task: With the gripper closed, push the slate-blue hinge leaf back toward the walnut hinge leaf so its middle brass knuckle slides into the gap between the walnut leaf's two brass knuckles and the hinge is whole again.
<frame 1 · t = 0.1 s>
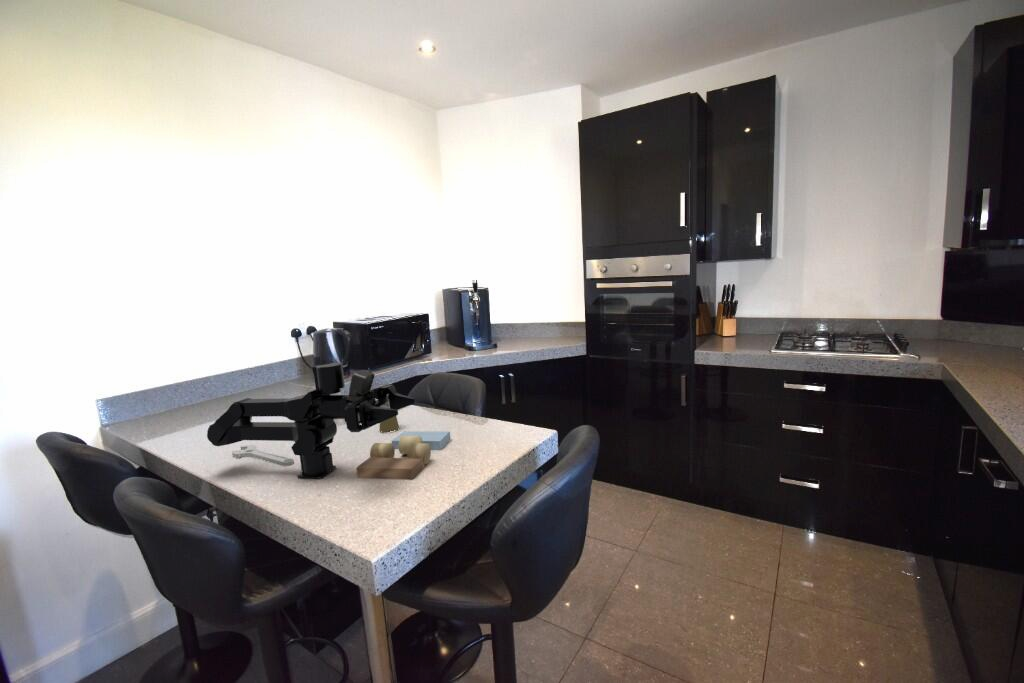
hand: (406, 406, 104), 17 cm above the countertop, tool horizontal, fingers open, 9 cm apart
cork: (389, 430, 142), on the countertop
adjustable wrench: (261, 460, 125), on the countertop
slate leaf: (411, 453, 120), on the countertop
walnut leaf: (401, 462, 115), on the countertop
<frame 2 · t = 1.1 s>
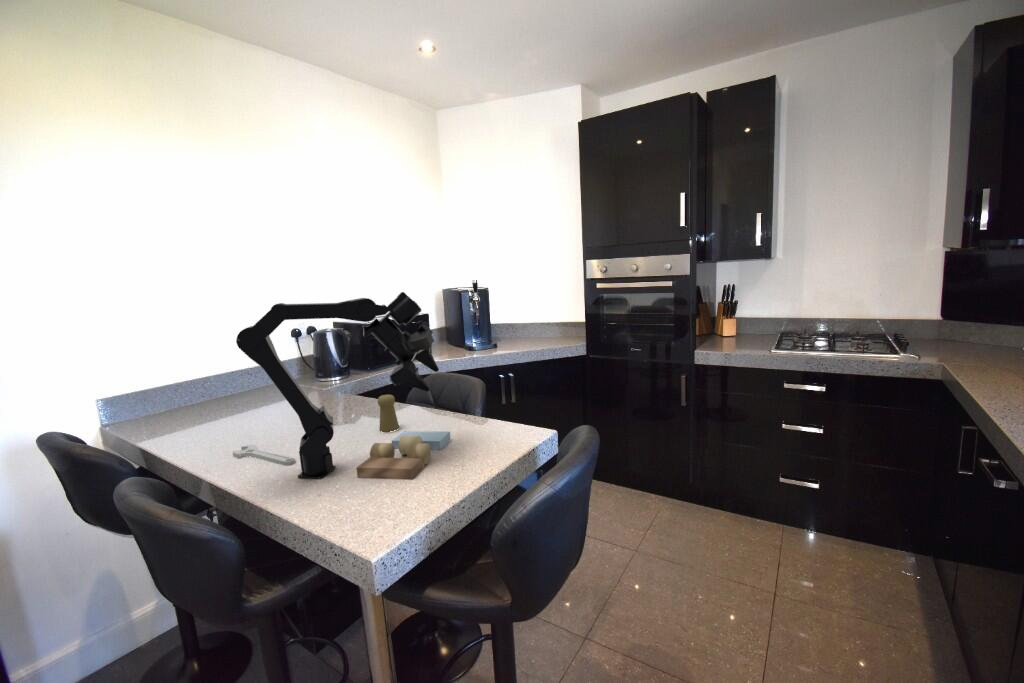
hand: (433, 380, 120), 19 cm above the countertop, tool tilted 35°, fingers open, 9 cm apart
nothing on the countertop moved.
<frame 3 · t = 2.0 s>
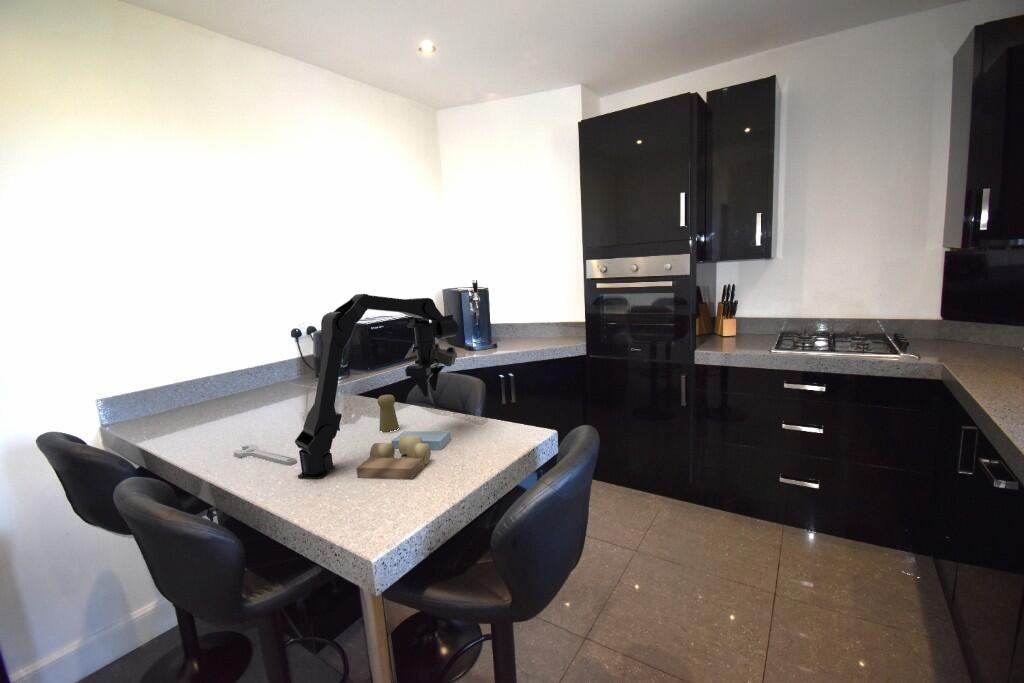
hand: (430, 393, 134), 12 cm above the countertop, tool pointing down, fingers open, 6 cm apart
nothing on the countertop moved.
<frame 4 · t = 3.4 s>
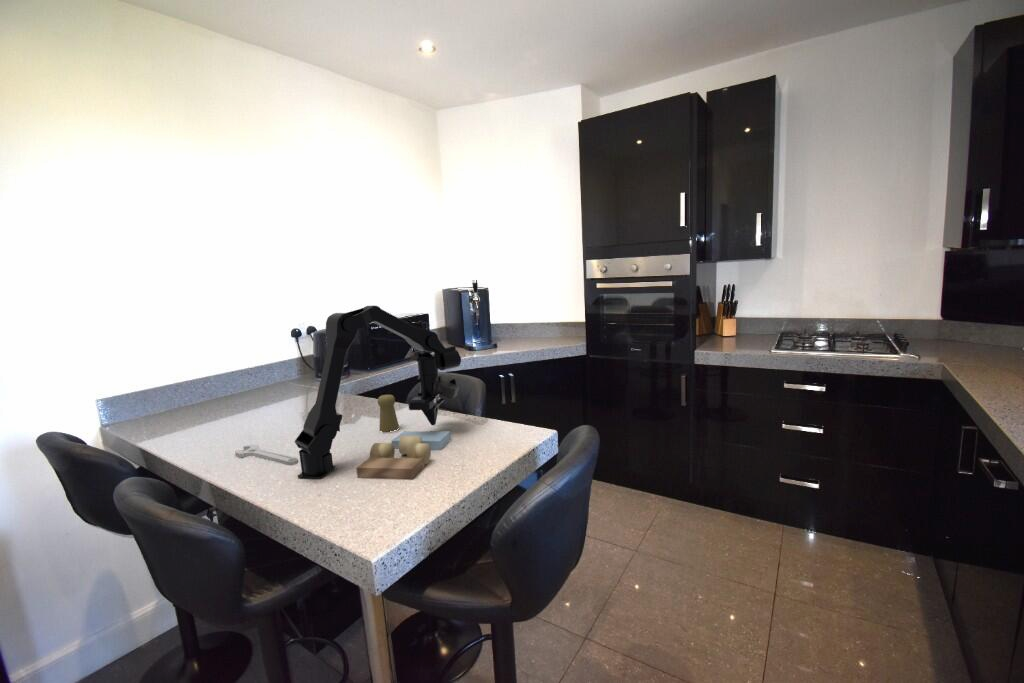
hand: (433, 424, 136), 2 cm above the countertop, tool pointing down, fingers closed
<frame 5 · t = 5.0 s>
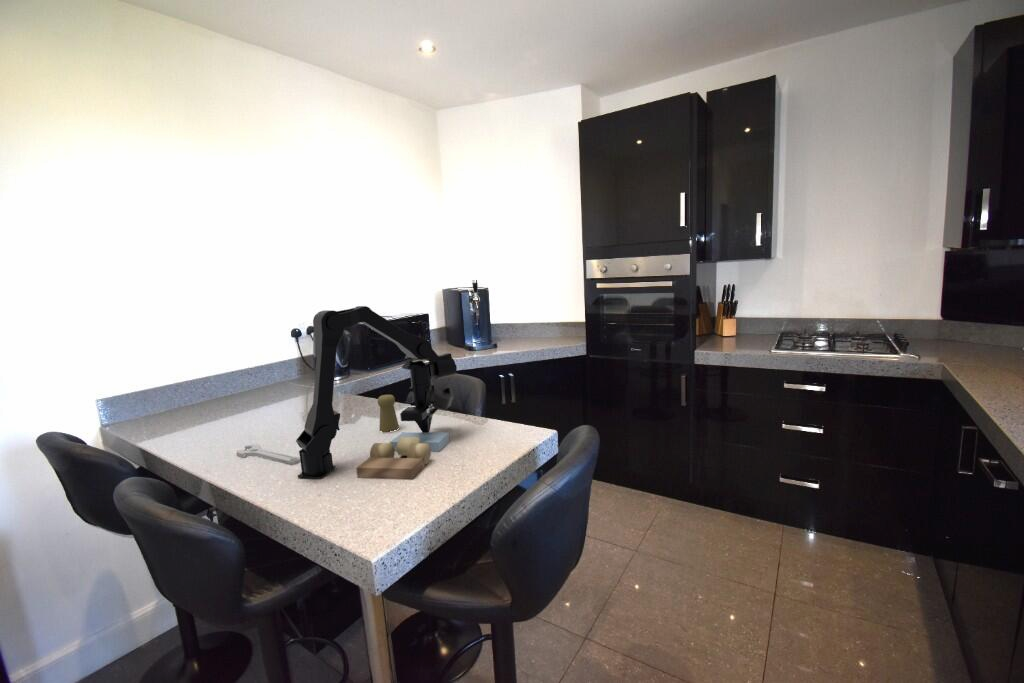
hand: (426, 435, 131), 1 cm above the countertop, tool pointing down, fingers closed
slate leaf: (410, 455, 119), on the countertop, touching gripper
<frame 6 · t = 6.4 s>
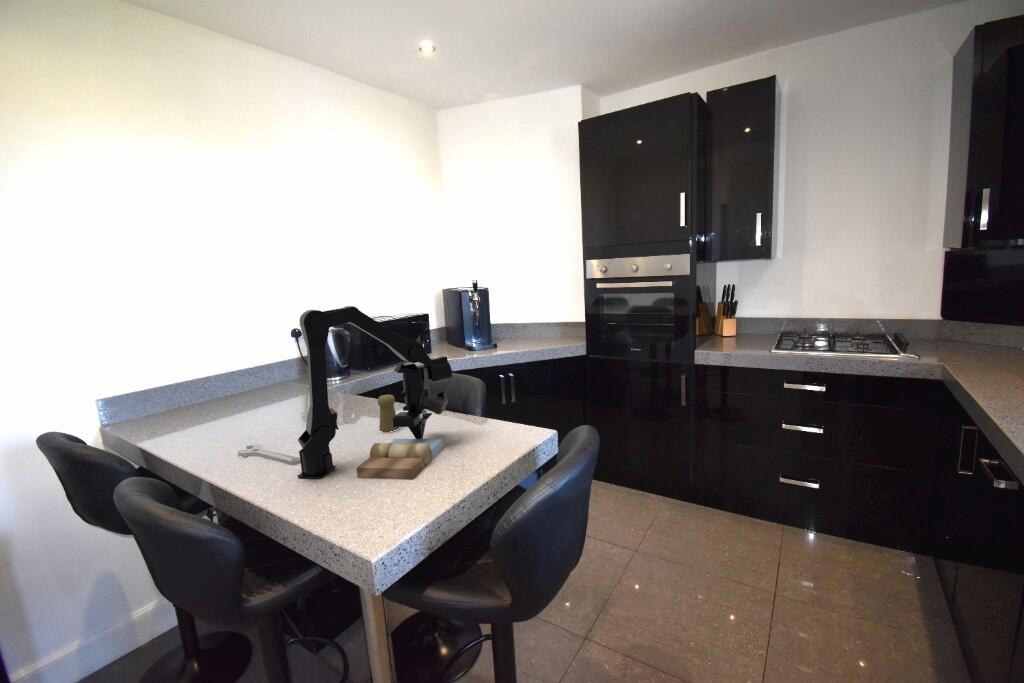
hand: (420, 441, 126), 1 cm above the countertop, tool pointing down, fingers closed
slate leaf: (402, 463, 114), on the countertop, touching gripper
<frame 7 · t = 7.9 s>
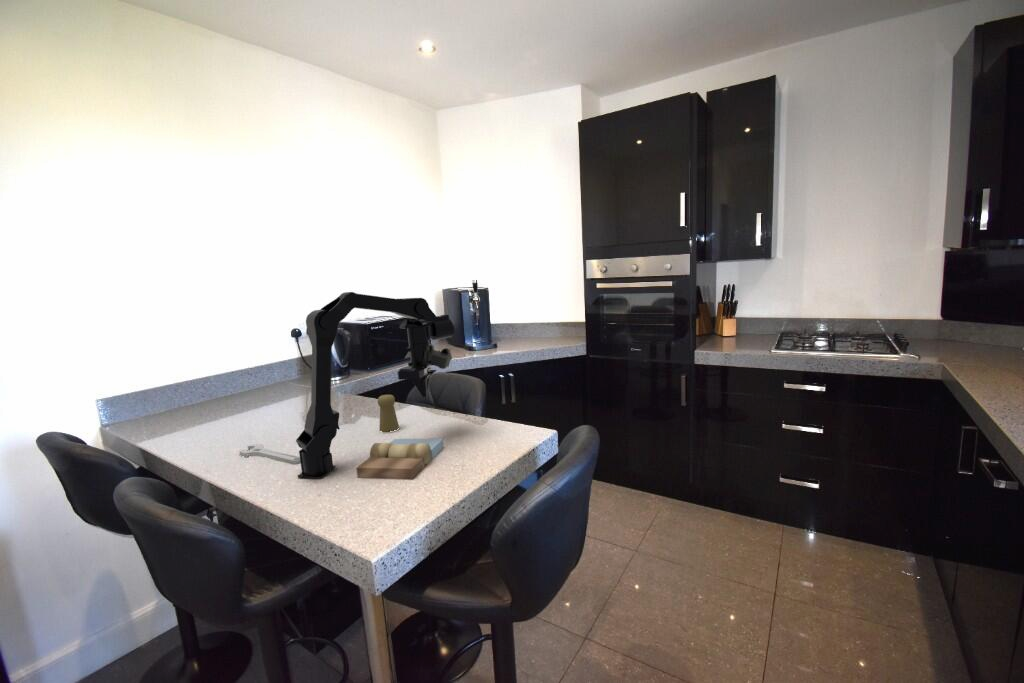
hand: (425, 396, 130), 12 cm above the countertop, tool pointing down, fingers closed
slate leaf: (402, 463, 114), on the countertop
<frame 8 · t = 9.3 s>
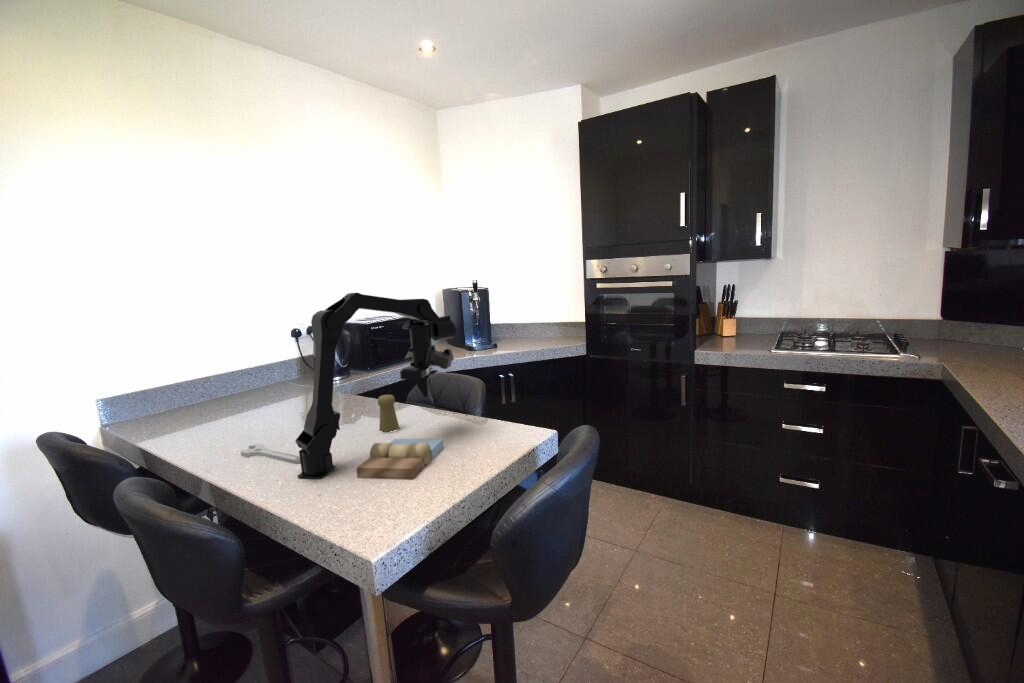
hand: (426, 396, 131), 12 cm above the countertop, tool pointing down, fingers closed
at the end: slate leaf 0.2 cm from the walnut leaf (horizontally); slate leaf 0.9 cm off-centre on the walnut leaf, point 0.0 cm above the walnut leaf's base; slate leaf tilted 1° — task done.
